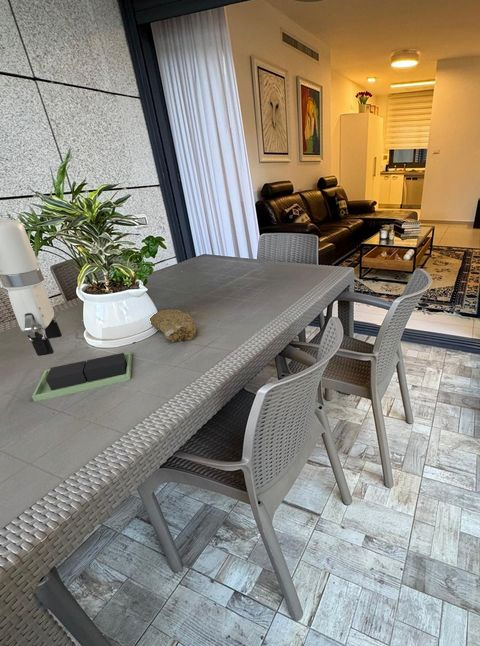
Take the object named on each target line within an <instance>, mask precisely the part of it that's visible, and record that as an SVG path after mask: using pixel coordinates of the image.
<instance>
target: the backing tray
mask: <svg viewBox="0 0 480 646" xmlns="http://www.w3.org/2000/svg"><path fill="white" fill-rule="evenodd" d="M131 352H132V351H131ZM131 352H125V353H124V355H125V358H126V361H127V371H126V374H123V375H118V376H114V377H109V378H105V379H100V380H96V381H92V382H88V381H87V383H82V384H78V385H74V386H69V387H65V388H60V389H56V390H51V389H50V387H49V385H48V383H47V381H46V378H47V375H48V373H49V371H50V369H51V368H48V369H44V370H43V373H42V375H41V377H40V379H39V381H38V383H37V385H36V387H35V389H34V391H33V393H32V395H31V398H32V400H33V401H34V403H35V402H36V403H37V402H39V401H44V400H48V399H54V398H57V397H61V396H66V395H71V394H75V393H79V392H84V391H89V390H91V389H97V388H100V387H104V386H109V385H113V384H118V383H122V382H127V381H130V380H131V377H132V376H131V375H132V365H133V363H132V362H133V356H132V353H131ZM85 361H86V362H87V360H85Z"/></svg>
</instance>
